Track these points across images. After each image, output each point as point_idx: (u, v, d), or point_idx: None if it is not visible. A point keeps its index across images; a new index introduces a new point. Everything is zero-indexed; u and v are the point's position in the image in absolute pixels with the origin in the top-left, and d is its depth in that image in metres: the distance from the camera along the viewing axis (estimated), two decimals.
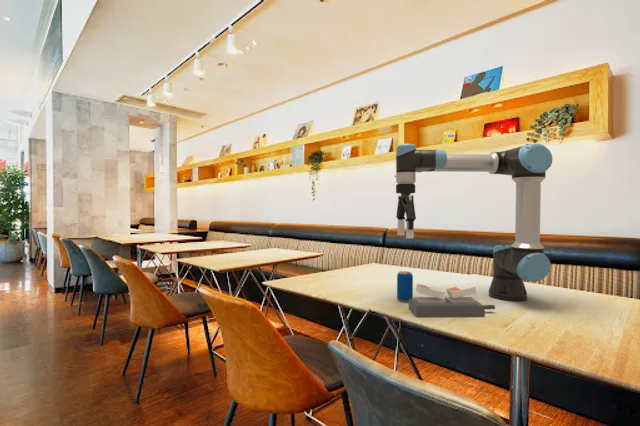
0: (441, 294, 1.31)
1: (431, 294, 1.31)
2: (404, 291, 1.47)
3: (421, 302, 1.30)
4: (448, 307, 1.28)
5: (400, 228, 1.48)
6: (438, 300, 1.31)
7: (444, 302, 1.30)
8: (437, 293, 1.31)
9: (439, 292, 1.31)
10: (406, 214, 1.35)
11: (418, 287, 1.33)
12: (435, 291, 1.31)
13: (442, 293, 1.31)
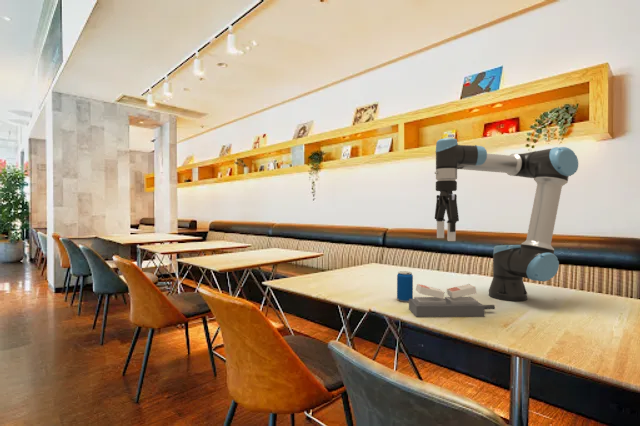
0: (441, 294, 1.31)
1: (431, 294, 1.31)
2: (404, 291, 1.47)
3: (421, 302, 1.30)
4: (448, 307, 1.28)
5: (439, 231, 1.38)
6: (438, 300, 1.31)
7: (444, 302, 1.30)
8: (437, 293, 1.31)
9: (439, 292, 1.31)
10: (447, 215, 1.28)
11: (418, 287, 1.33)
12: (435, 291, 1.31)
13: (442, 293, 1.31)
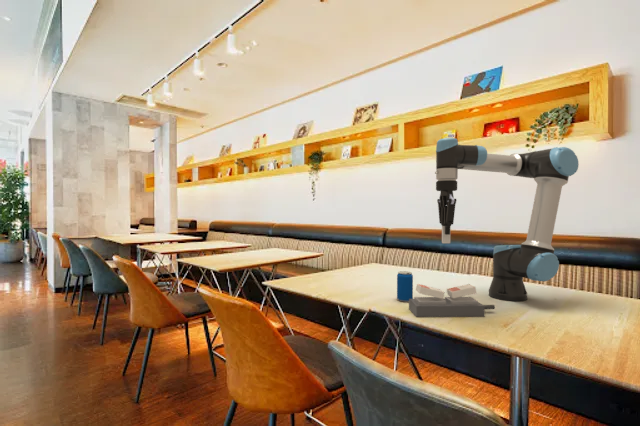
0: (441, 294, 1.31)
1: (431, 294, 1.31)
2: (404, 291, 1.47)
3: (421, 302, 1.30)
4: (448, 307, 1.28)
5: None
6: (438, 300, 1.31)
7: (444, 302, 1.30)
8: (437, 293, 1.31)
9: (439, 292, 1.31)
10: (444, 217, 1.31)
11: (418, 287, 1.33)
12: (435, 291, 1.31)
13: (442, 293, 1.31)
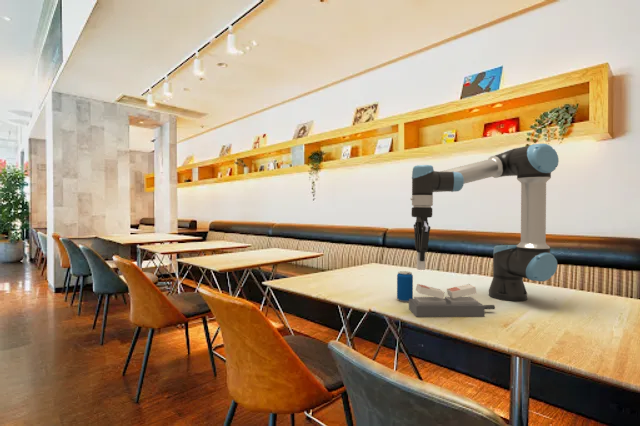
0: (441, 294, 1.31)
1: (431, 294, 1.31)
2: (404, 291, 1.47)
3: (421, 302, 1.30)
4: (448, 307, 1.28)
5: None
6: (438, 300, 1.31)
7: (444, 302, 1.30)
8: (437, 293, 1.31)
9: (439, 292, 1.31)
10: (419, 244, 1.31)
11: (418, 287, 1.33)
12: (435, 291, 1.31)
13: (442, 293, 1.31)
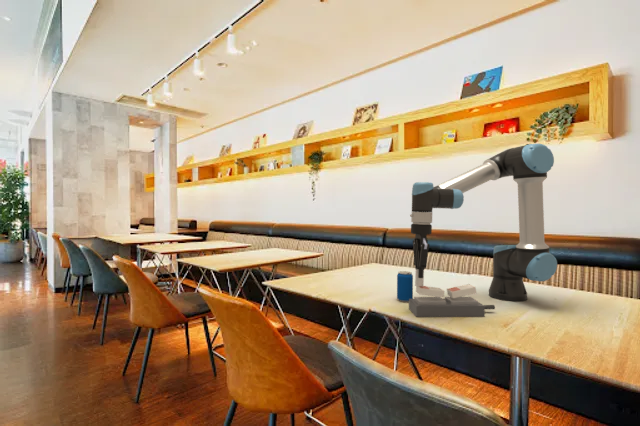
0: (441, 293, 1.31)
1: (431, 294, 1.31)
2: (404, 291, 1.47)
3: (421, 302, 1.30)
4: (448, 307, 1.28)
5: None
6: (438, 300, 1.31)
7: (444, 302, 1.30)
8: (437, 292, 1.31)
9: (439, 291, 1.31)
10: (417, 260, 1.32)
11: (418, 288, 1.33)
12: (435, 291, 1.31)
13: (442, 292, 1.31)
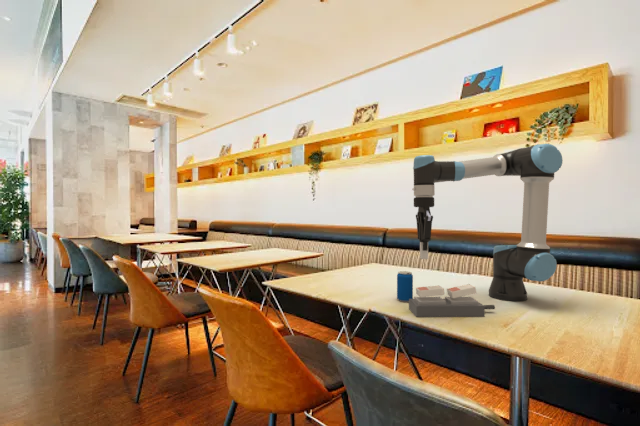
0: (441, 290, 1.31)
1: (432, 294, 1.31)
2: (404, 291, 1.47)
3: (421, 302, 1.30)
4: (448, 307, 1.28)
5: None
6: (438, 300, 1.31)
7: (444, 302, 1.30)
8: (437, 291, 1.31)
9: (439, 290, 1.31)
10: (421, 233, 1.33)
11: (417, 291, 1.33)
12: (434, 290, 1.31)
13: (442, 290, 1.31)
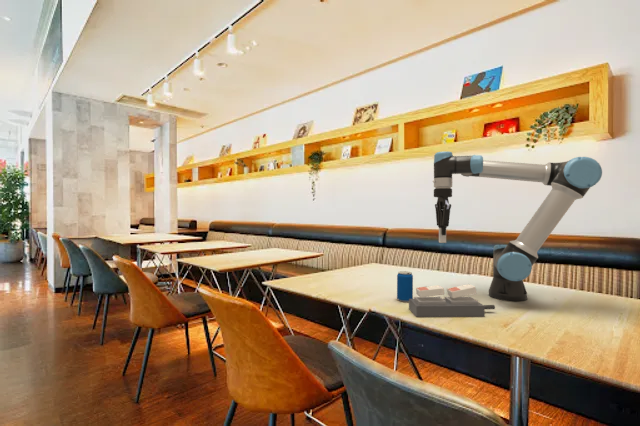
0: (441, 290, 1.31)
1: (432, 294, 1.31)
2: (404, 291, 1.47)
3: (421, 302, 1.30)
4: (448, 307, 1.28)
5: None
6: (438, 300, 1.31)
7: (444, 302, 1.30)
8: (437, 291, 1.31)
9: (438, 290, 1.31)
10: (440, 220, 1.51)
11: (417, 291, 1.33)
12: (434, 290, 1.31)
13: (442, 290, 1.31)
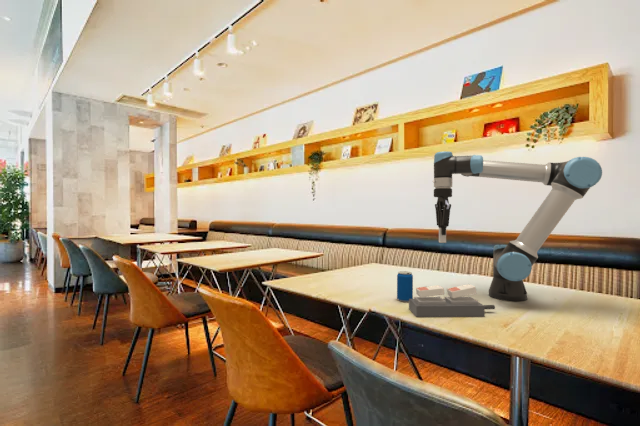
0: (441, 290, 1.31)
1: (432, 294, 1.31)
2: (404, 291, 1.47)
3: (421, 302, 1.30)
4: (448, 307, 1.28)
5: None
6: (438, 300, 1.31)
7: (444, 302, 1.30)
8: (437, 291, 1.31)
9: (438, 290, 1.31)
10: (440, 220, 1.52)
11: (417, 291, 1.33)
12: (434, 290, 1.31)
13: (442, 289, 1.31)
